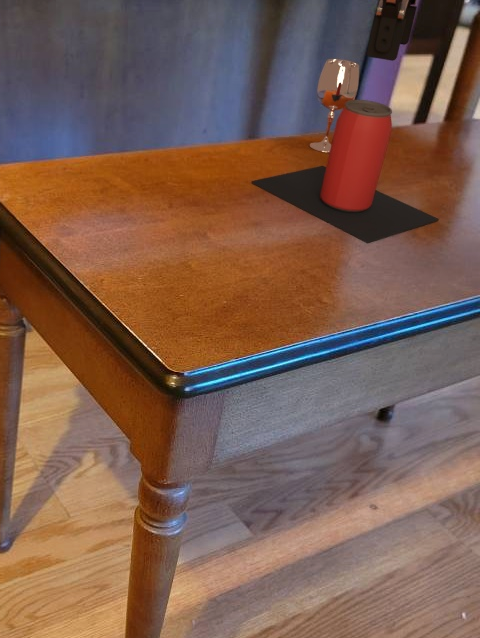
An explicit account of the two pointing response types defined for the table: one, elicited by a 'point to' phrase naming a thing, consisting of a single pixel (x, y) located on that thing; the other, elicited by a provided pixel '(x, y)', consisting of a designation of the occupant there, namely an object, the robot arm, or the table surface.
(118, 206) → the table surface
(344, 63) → the wineglass
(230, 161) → the table surface
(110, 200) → the table surface
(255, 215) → the table surface
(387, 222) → the mat
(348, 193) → the beer can
